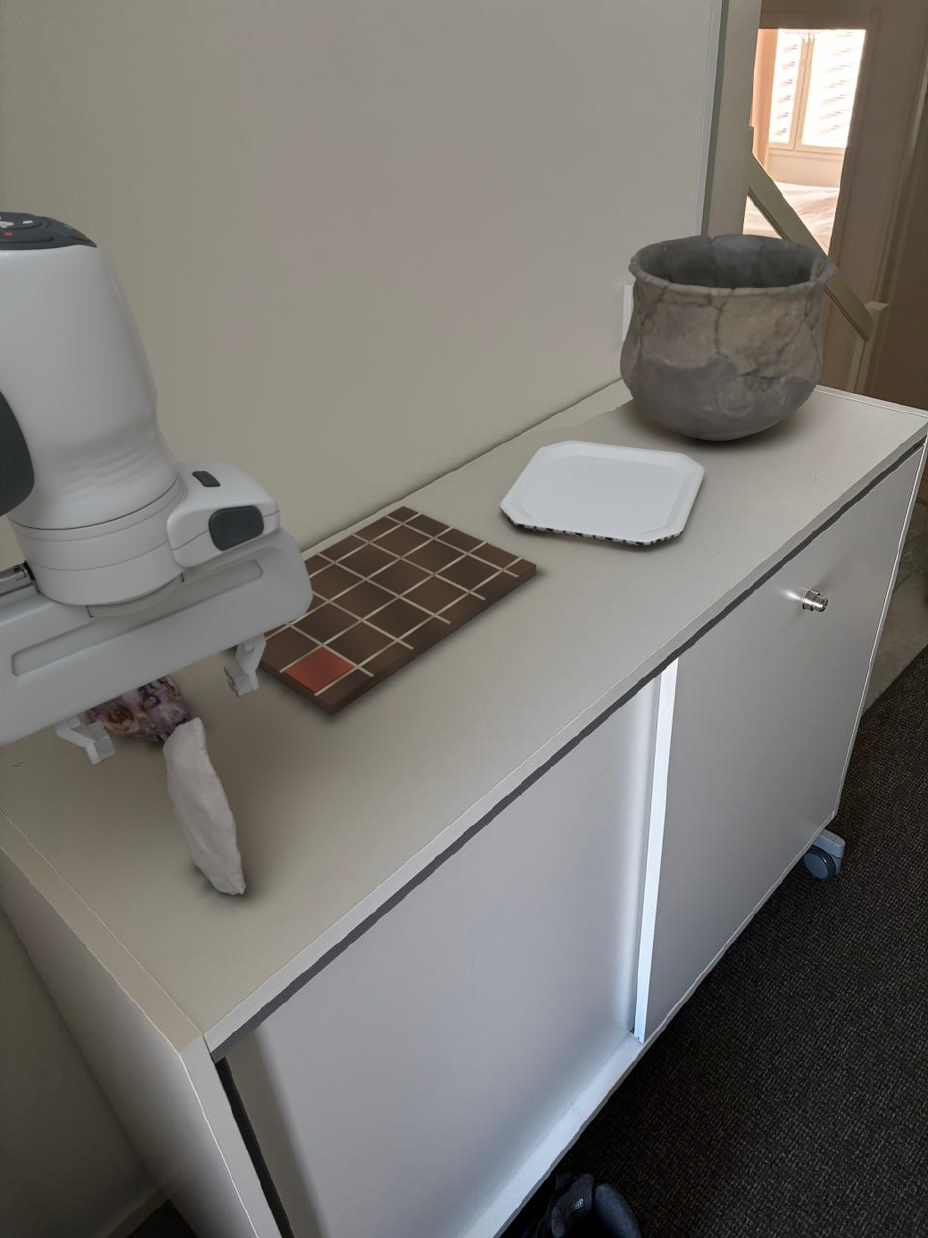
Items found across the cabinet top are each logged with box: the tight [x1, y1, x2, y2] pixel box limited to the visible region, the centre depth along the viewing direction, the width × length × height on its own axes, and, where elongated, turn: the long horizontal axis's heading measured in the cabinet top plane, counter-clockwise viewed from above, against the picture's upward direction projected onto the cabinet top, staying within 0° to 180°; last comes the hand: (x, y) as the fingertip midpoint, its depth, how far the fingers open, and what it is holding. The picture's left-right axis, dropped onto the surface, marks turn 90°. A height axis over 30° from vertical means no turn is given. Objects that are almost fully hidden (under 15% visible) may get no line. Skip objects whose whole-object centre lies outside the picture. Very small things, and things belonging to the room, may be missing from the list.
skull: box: [85, 674, 194, 743], centre depth 80 cm, size 12×8×6 cm, turn 45°
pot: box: [619, 233, 838, 442], centre depth 115 cm, size 25×24×21 cm
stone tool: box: [162, 716, 247, 897], centre depth 63 cm, size 9×3×15 cm, turn 48°
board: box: [231, 505, 537, 716], centre depth 93 cm, size 28×20×1 cm
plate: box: [499, 439, 706, 546], centre depth 106 cm, size 21×21×2 cm
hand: (175, 720), depth 58 cm, fingers open, 8 cm apart
